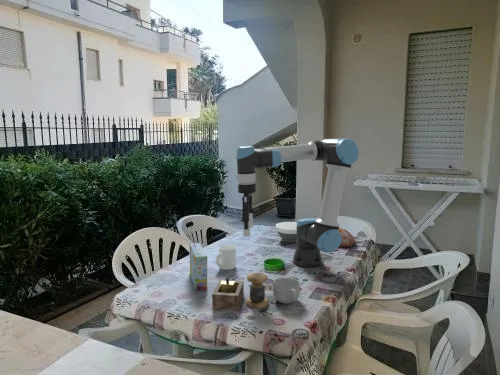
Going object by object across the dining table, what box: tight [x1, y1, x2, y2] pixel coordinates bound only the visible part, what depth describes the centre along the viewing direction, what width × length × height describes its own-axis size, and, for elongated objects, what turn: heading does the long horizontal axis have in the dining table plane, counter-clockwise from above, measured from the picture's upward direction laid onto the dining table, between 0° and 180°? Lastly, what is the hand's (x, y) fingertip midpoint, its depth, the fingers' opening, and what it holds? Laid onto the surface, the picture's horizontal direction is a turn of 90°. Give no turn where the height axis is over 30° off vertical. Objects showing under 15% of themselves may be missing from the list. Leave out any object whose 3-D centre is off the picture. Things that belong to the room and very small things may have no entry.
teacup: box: [272, 276, 302, 305], centre depth 144 cm, size 14×11×8 cm
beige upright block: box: [221, 277, 235, 293], centre depth 145 cm, size 5×3×9 cm, turn 82°
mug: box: [215, 244, 237, 271], centre depth 181 cm, size 12×8×10 cm
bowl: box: [275, 221, 297, 244], centre depth 228 cm, size 20×20×10 cm
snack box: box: [189, 242, 208, 291], centre depth 165 cm, size 21×6×15 cm, turn 17°
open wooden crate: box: [211, 279, 245, 312], centre depth 145 cm, size 10×14×6 cm
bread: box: [338, 227, 357, 248], centre depth 221 cm, size 16×20×10 cm
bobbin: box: [245, 272, 270, 310], centre depth 143 cm, size 9×9×11 cm
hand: (248, 231), depth 158 cm, fingers open, 13 cm apart
